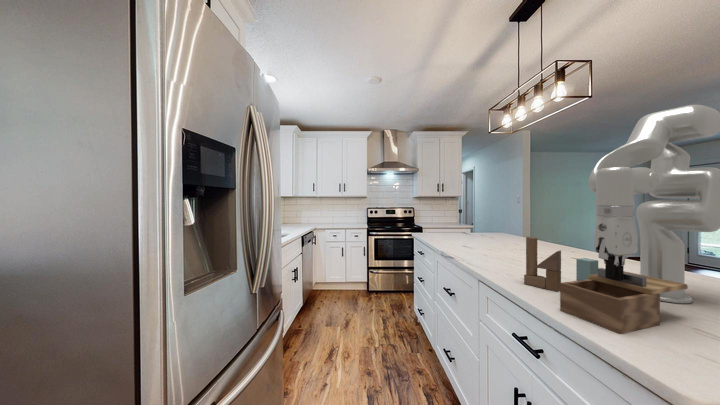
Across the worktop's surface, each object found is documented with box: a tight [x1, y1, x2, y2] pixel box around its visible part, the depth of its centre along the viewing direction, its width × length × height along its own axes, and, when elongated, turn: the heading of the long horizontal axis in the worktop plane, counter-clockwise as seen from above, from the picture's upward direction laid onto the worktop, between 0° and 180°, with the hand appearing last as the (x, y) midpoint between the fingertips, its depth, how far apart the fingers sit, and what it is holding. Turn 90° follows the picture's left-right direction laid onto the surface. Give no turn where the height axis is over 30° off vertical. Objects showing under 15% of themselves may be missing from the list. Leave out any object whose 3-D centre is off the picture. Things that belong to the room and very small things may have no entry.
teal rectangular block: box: [575, 257, 599, 281], centre depth 87 cm, size 4×4×12 cm
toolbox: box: [559, 279, 661, 335], centre depth 71 cm, size 15×14×8 cm
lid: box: [588, 267, 688, 295], centre depth 74 cm, size 15×14×4 cm
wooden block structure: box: [523, 236, 562, 293], centre depth 96 cm, size 4×11×18 cm, turn 35°
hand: (614, 279), depth 72 cm, fingers closed
